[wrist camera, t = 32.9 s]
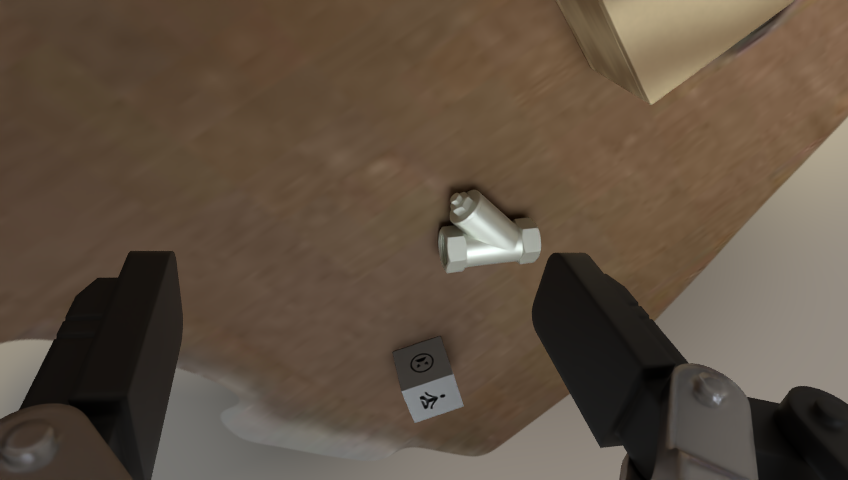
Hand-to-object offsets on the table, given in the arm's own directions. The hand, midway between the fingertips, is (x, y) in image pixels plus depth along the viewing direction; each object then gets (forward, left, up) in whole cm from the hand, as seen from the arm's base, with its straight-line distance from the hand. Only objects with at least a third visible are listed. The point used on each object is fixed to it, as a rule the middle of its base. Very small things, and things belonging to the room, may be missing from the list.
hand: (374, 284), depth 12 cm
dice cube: (+31, -14, -28) cm, 44 cm away
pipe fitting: (+21, 0, -28) cm, 35 cm away
